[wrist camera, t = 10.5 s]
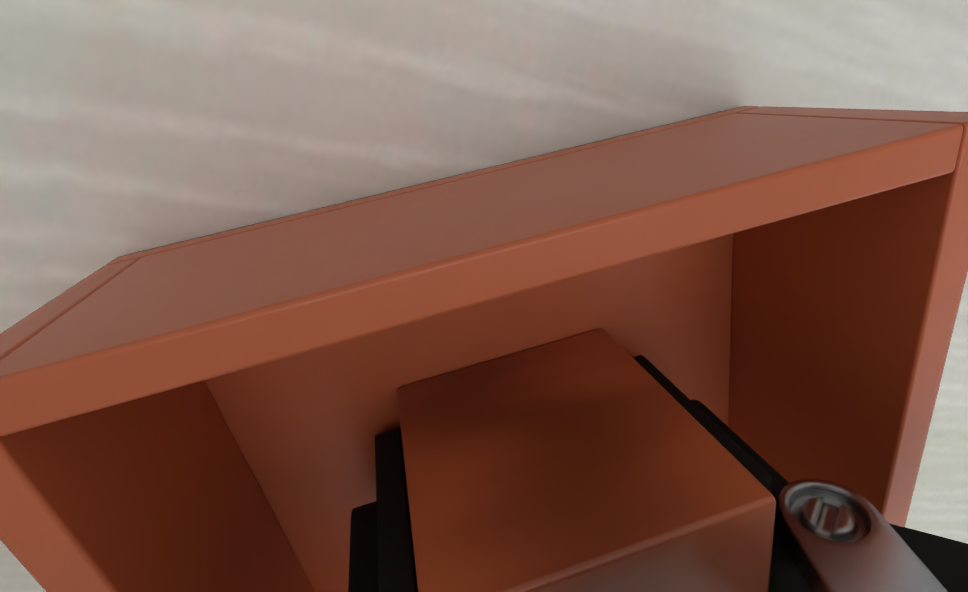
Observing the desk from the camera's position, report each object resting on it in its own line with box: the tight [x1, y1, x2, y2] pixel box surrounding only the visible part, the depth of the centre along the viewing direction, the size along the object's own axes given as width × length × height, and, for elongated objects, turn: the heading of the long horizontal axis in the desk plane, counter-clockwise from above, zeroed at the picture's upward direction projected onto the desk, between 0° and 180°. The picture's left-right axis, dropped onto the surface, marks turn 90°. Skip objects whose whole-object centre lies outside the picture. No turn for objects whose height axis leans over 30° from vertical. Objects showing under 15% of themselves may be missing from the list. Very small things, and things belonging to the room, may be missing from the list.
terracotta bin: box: [0, 106, 968, 592], centre depth 10 cm, size 12×12×4 cm
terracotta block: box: [397, 329, 776, 592], centre depth 9 cm, size 5×5×5 cm
